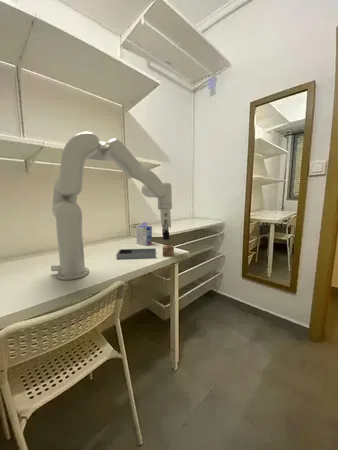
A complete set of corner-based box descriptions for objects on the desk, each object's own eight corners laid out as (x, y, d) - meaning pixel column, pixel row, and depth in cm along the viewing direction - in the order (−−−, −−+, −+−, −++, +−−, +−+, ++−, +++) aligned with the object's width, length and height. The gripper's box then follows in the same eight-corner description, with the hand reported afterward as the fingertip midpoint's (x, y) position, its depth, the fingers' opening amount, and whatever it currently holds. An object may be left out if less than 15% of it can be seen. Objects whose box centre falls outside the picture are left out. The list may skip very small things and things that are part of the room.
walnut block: (162, 256, 114) (162, 247, 113) (162, 253, 119) (162, 245, 118) (173, 256, 114) (173, 247, 113) (173, 253, 119) (173, 245, 118)
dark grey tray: (116, 259, 110) (116, 254, 110) (119, 253, 120) (119, 249, 120) (155, 257, 111) (155, 253, 111) (155, 252, 121) (155, 248, 121)
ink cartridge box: (152, 244, 141) (152, 222, 138) (146, 245, 136) (146, 223, 134) (142, 242, 147) (141, 221, 144) (136, 243, 142) (135, 222, 140)
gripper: (173, 207, 104) (174, 241, 107) (170, 204, 121) (171, 233, 124) (158, 207, 104) (159, 241, 107) (157, 205, 121) (158, 234, 124)
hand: (165, 237), depth 115 cm, fingers open, 9 cm apart
